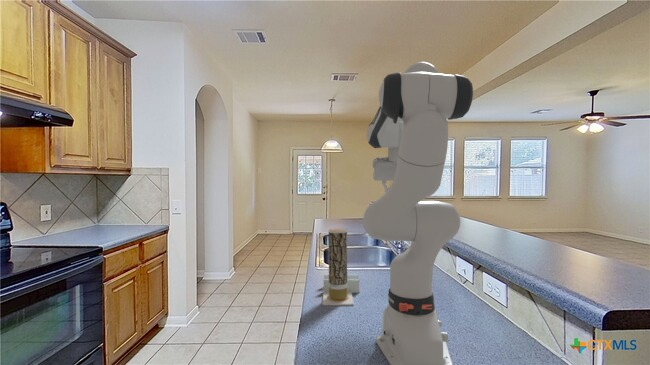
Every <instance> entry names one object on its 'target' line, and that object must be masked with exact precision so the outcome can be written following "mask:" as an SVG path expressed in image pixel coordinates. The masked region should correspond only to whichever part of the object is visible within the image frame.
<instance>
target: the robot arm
mask: <svg viewBox="0 0 650 365" xmlns="http://www.w3.org/2000/svg"><path fill="white" fill-rule="evenodd" d="M473 86H474V85H473V83H472V82H471V80H470V79H469V78H468V77H467V76H464V75H460V74H455V73H454V74H445V73H439V72H438V70H437V68H436V67H435V66H434V65H433V64H431V63H429V62H426V61H419V62H418V61H417V62H415V63H413V64H412V63H411V65H409V66H408V67H407V68H406V69H405V71H404V73H401V71H400V72H393V73H390V74H387V75H386V76H385V77H384V78H383V82H382V83H381V85H380V87H379V91H378V102H379V107H378V109H377V112H376V114H375V116H374V117H373V120H372V121H371V122H370V123H369V125H368V127H367V130H366V131H367V132H366V140H367V143H368V144H369V145H370V146H371V147H372V148H374V149H382V148H387V156H385V157H376V158H374V159H373V160H372V167H373V174H372V177H373V178H372V179H373V180H374V181H376V182H377V181H379V182H380V181H381V183H382V186H383V187H384V188H383V189H384V194H383V195H382V196H380V197H379V198H377V200H376V201H374V202H372V203H370V204H369V205H368V206H367V207H366V209H365V211H364V213H363V219H362V221H363V223H362V224H363V228H364V230H365V232H366V233H367V236H369V237H370V238H371V239H374V240H378V241H379V240H380V241H384V242H411V243H410V245H409V247H408V248H407V249H406V250H405V251H403V252H401V253H399V254H398V255H396V256H395V257H393V259H392V261H391V262H390V265H389V267H390V268H389V269H390V270H389V276H390V277H389V289H388V293H387V297H388V301H387V302H388V305H387V307H385V309H384V310H383V311H382V327H381V328H382V329H381V334H380V335H377V336H376V337H375V342H376V344H377V346H378V347H379V349H380V351H381V352H382V353H383V356H384V357H385V359H386V361H387V362H388V363H389V365H453V361H452V358H451V356H450V354H451V353H450V351H449V348H448V344H447V342H449V337H448V332H447V331H441V328H440V327H442V326H443V322H442V320H439V318H438V311H437V310H436V308H435V303H436V302H435V297H434V292H433V276H434V275H433V271H434V265H435V261H436V260H437V257H438V254H439V253H440V251H441V250H442V248H443V247H444V246H445V245H446V243H448V242H449V241H450V240H452V239H454V238H455V236H456V235H457V234H458V232H459V230H460V227H461V216H460V213H459V212H458V210H457V208H456V206H454V205H453V204H452V203H449V202H444V201H438V200H425V199H428V198H429V197H431V196H432V195H434V194H435V193H436V192H437V190H439V188H440V186H441V182H442V178H443V173H444V169H445V168H444V167H445V163H446V158H447V154H448V153H447V152H448V146H449V123H448V121H449V120H457V119H461V118H463V117H464V116H466V114H467V113H468V112H469V111H470V109H471V106H472V104H473V100H474V89H473ZM387 181H392V182H391V185H390V187H388V186H387V185H386V184H387Z"/></svg>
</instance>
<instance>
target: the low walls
mask: <svg viewBox="0 0 650 365" xmlns="http://www.w3.org/2000/svg"><path fill="white" fill-rule="evenodd" d="M323 292H329V274H323ZM347 292H352V294H360V279H359V274H347Z"/></svg>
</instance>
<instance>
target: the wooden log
mask: <svg viewBox="0 0 650 365" xmlns="http://www.w3.org/2000/svg"><path fill="white" fill-rule="evenodd" d="M328 275H329V297H330V298H331V299H333V300H344V299H346V298H347V275H348V229H346V228H331V229H328Z"/></svg>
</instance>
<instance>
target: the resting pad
mask: <svg viewBox="0 0 650 365" xmlns="http://www.w3.org/2000/svg"><path fill="white" fill-rule="evenodd" d="M322 295H323V296H322V306H346V307H347V306H351V307H352V306H355V305H354V304H355V303H354V297H353V293H352V292H347V298H346V299H344V300H333V299H331V298H330V297H329V292H324V291H323V294H322Z"/></svg>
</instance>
